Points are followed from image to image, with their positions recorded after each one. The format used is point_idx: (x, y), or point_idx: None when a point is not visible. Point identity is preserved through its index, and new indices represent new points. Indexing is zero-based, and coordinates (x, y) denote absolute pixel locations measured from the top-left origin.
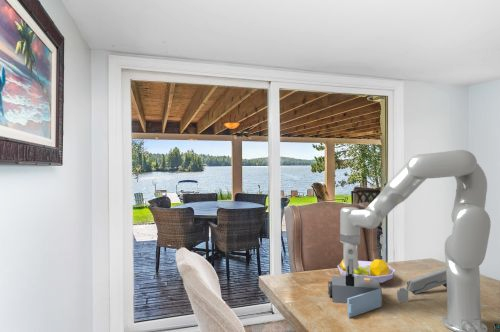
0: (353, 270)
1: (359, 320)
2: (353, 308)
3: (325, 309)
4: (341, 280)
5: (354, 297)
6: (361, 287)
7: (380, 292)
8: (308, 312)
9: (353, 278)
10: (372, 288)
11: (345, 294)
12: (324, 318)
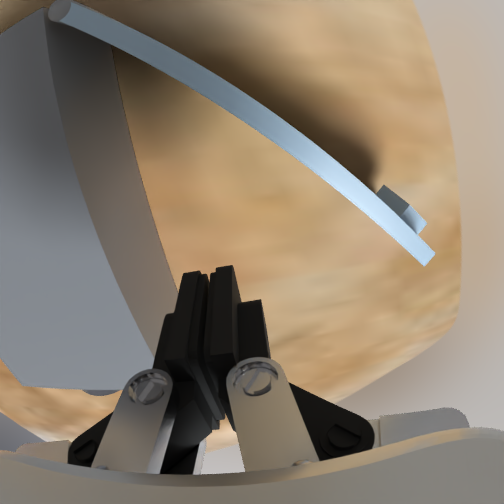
0: (315, 458)
1: (386, 144)
2: (397, 196)
3: (295, 319)
4: (45, 345)
5: (398, 217)
6: (82, 185)
7: (87, 8)
8: (345, 361)
9: (237, 334)
10: (57, 82)
11: (150, 276)
12: (393, 301)
